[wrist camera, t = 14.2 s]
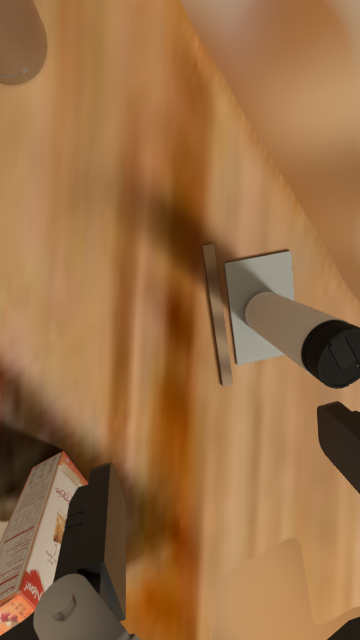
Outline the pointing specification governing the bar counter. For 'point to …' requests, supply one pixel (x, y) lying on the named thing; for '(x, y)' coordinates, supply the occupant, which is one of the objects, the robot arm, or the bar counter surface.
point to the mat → (242, 285)
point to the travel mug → (307, 337)
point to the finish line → (217, 313)
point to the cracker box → (35, 537)
